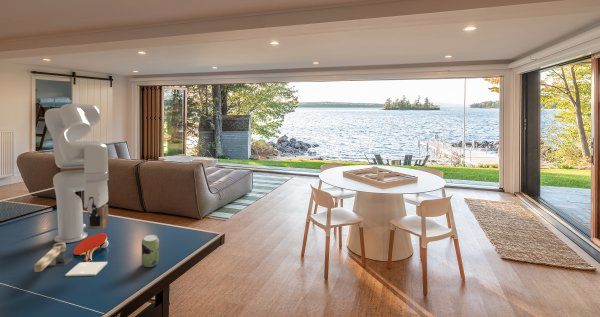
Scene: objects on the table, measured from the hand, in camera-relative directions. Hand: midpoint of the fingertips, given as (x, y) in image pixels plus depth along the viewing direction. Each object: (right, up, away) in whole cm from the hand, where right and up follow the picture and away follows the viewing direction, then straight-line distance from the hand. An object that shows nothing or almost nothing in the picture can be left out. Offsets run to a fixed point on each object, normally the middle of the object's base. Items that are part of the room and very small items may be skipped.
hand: (98, 223), depth 123 cm
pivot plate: (-18, -16, +4) cm, 24 cm away
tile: (-4, -17, -1) cm, 18 cm away
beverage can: (+18, -18, +4) cm, 25 cm away
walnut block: (0, -1, 0) cm, 2 cm away
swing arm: (-15, -16, -3) cm, 23 cm away
